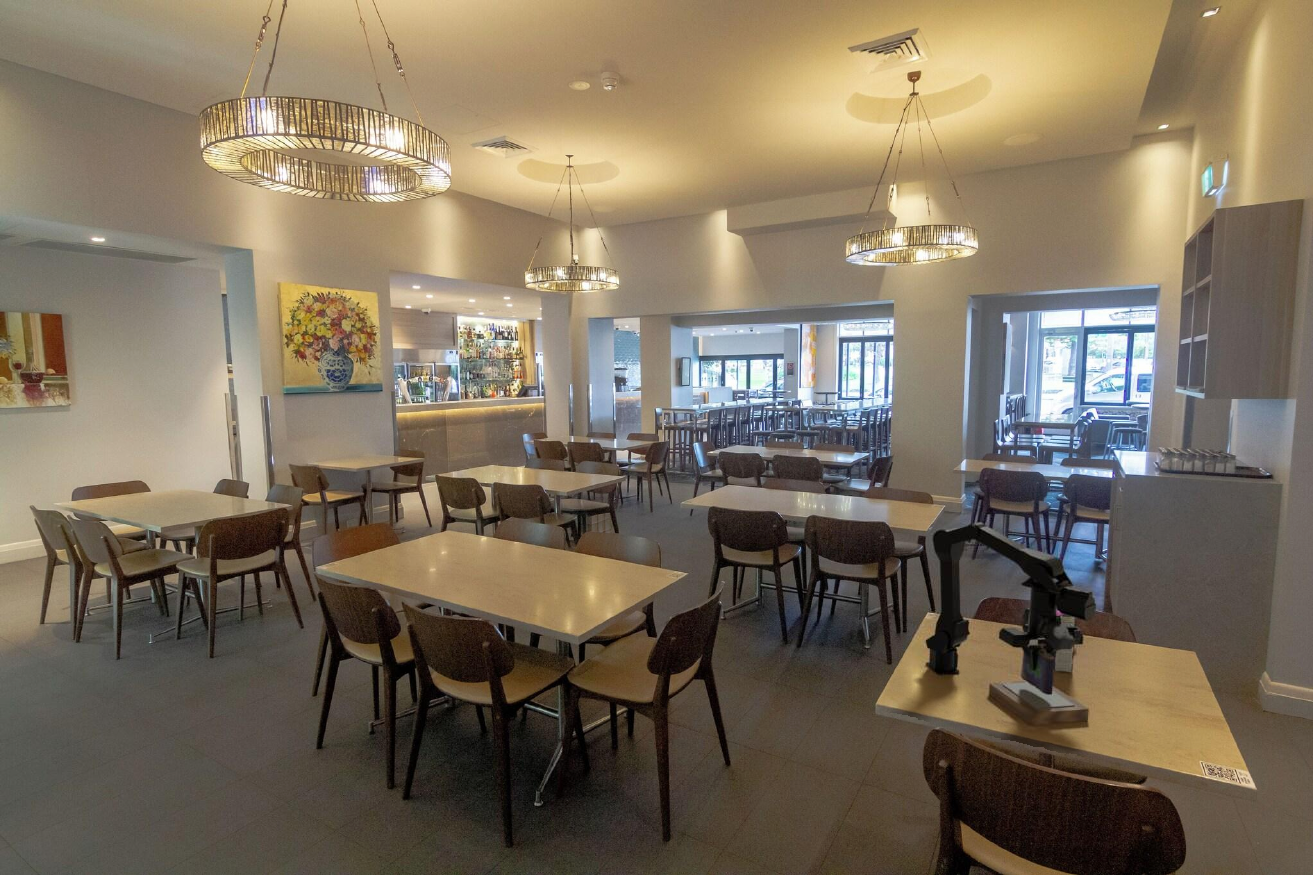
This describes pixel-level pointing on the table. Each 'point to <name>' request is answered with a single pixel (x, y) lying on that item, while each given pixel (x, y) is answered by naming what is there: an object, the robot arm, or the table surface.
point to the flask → (1040, 671)
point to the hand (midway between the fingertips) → (1038, 669)
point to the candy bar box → (1064, 655)
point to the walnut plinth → (1038, 703)
